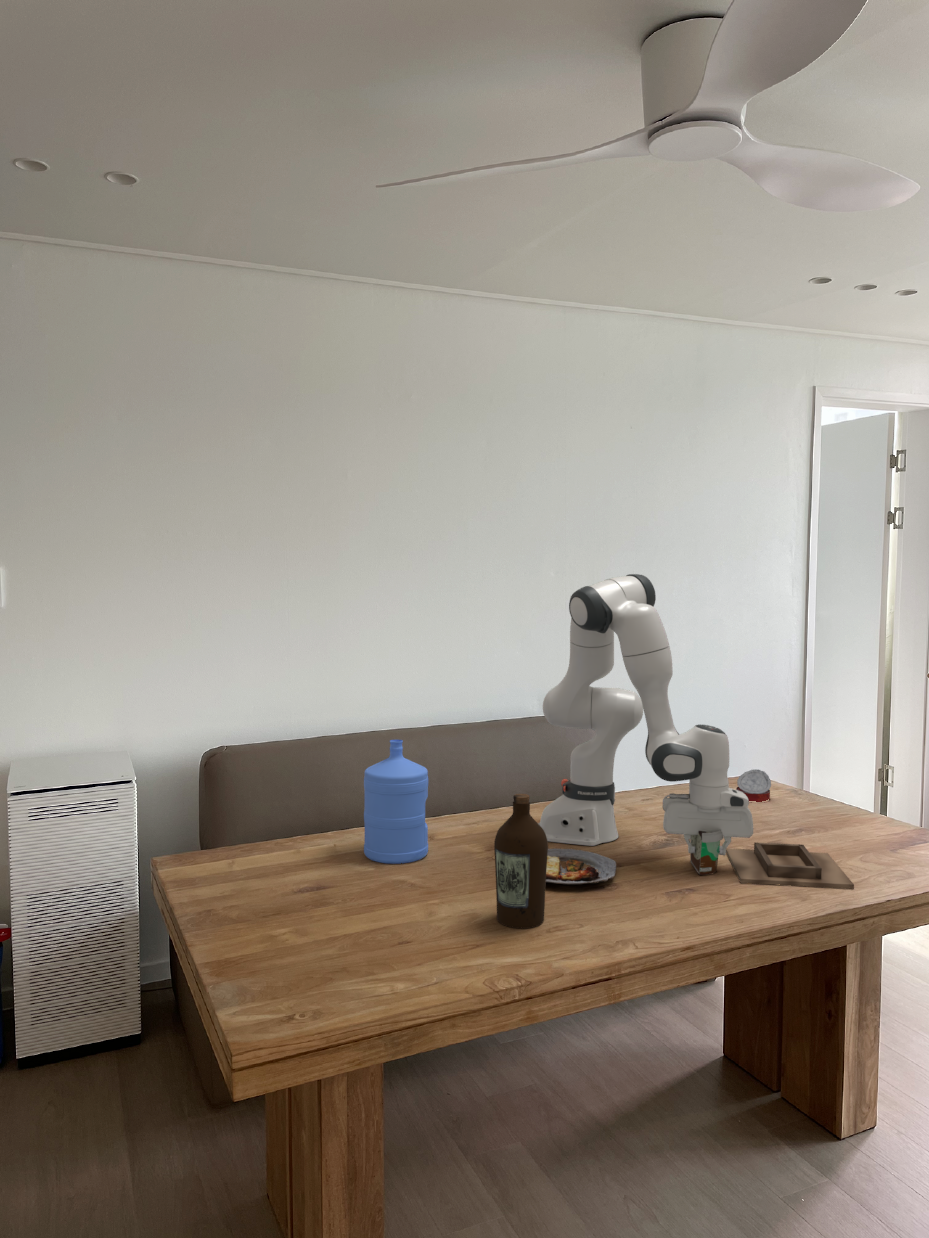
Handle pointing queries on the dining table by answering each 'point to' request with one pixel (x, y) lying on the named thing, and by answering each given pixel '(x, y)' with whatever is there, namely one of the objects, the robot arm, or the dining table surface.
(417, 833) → the water jug
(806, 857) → the caddy board
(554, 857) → the food plate
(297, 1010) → the dining table surface
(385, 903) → the dining table surface
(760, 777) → the canned food
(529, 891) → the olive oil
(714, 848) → the food container
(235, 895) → the dining table surface
